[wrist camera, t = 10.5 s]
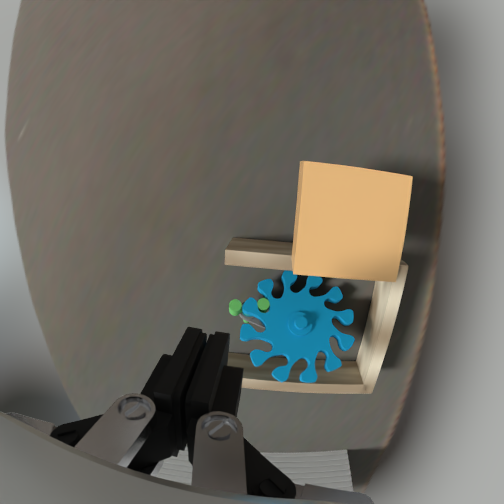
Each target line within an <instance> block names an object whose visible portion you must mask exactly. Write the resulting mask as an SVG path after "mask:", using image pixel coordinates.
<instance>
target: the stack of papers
mask: <svg viewBox="0 0 504 504" xmlns="http://www.w3.org/2000/svg"><path fill="white" fill-rule="evenodd" d="M261 454H262V455H263V456H264V457H265V458H266V459H268V460H269V461H270V462H271V463H272V464H273V465H274V466H276V467H277V468H278V469H279V470H280V471H281V472H283V473H284V474H285V475H286V476H287V477H289V478H290V479H291V480H292V482H293V483H294V484H299V485H303V486H304V485H305V483H306V484H311V485H316V486H321V487H326V488H332V489H338V490H345V491H352V492H353V487H352V486H353V485H352V481H351V480H352V479H351V476H350V475H351V472H350V466H349V460H348V454H347V450H336V451H323V452H301V453H261ZM192 469H193V466H192V464H191V463H190V462H189V459H188V448H187V447H185V450H184V451H182V450H179V453H178V456H177V457H174V456H171V457H170V458H167V459H164V463H163V466H162V467H161V469H160V471H159V472H158V474H157V476H156V477H158V478H162V479H166V480H170V481H174V482H178V483H182V484H187V485H191V482H192Z"/></svg>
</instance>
